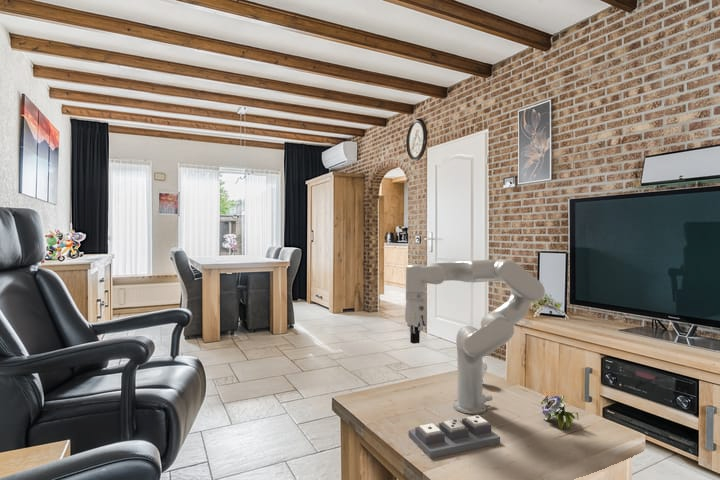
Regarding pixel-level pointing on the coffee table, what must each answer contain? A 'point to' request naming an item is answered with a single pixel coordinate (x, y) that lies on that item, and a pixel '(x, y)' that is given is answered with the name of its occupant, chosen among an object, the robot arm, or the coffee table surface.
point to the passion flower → (557, 410)
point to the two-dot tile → (476, 420)
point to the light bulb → (484, 369)
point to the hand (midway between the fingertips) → (414, 342)
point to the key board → (454, 439)
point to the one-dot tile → (429, 429)
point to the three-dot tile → (453, 425)
